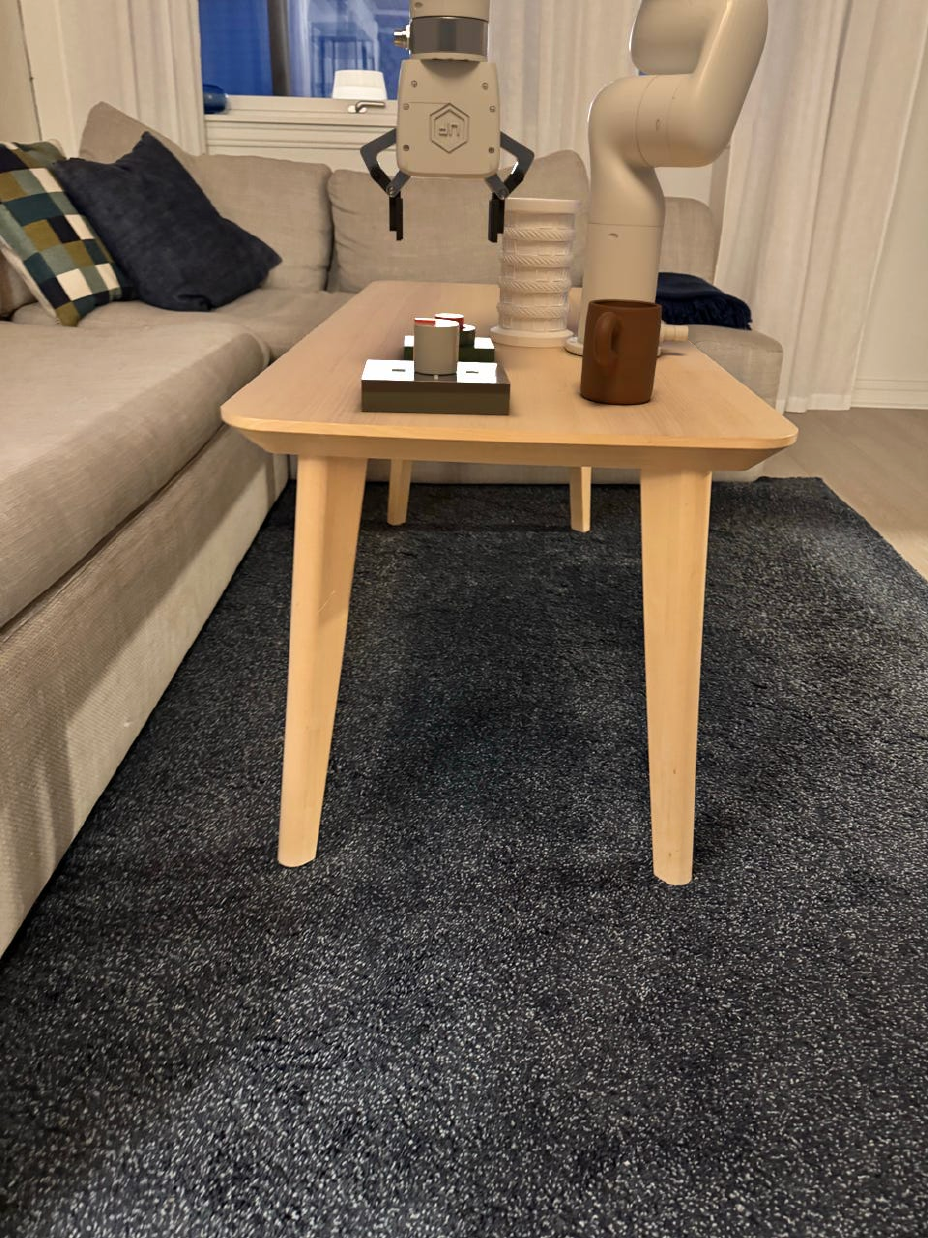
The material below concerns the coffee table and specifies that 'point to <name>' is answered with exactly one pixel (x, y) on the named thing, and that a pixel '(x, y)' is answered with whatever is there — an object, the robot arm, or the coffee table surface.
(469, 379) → the hob
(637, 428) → the coffee table surface
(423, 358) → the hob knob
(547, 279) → the decorative container
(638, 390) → the mug
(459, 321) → the power button
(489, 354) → the power box
